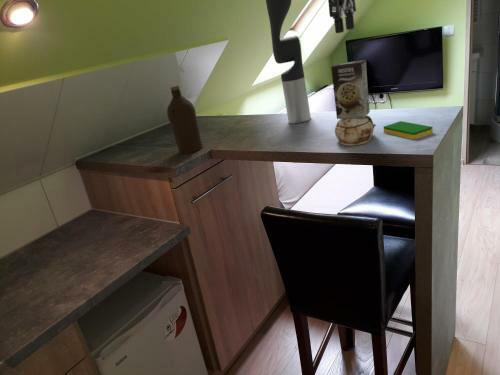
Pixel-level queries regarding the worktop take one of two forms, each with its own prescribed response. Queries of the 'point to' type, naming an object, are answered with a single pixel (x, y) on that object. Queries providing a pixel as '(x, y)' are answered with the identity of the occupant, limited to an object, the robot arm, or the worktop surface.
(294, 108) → the robot arm
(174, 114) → the olive oil
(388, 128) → the dish sponge
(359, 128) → the trinket box
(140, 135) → the worktop surface
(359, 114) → the coffee box
